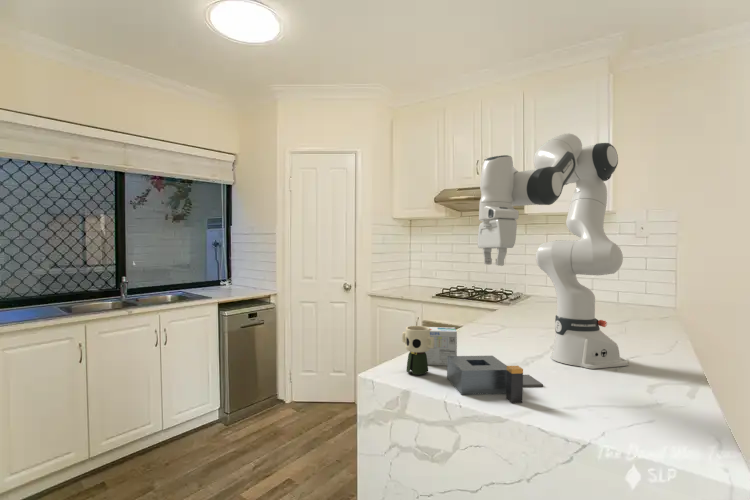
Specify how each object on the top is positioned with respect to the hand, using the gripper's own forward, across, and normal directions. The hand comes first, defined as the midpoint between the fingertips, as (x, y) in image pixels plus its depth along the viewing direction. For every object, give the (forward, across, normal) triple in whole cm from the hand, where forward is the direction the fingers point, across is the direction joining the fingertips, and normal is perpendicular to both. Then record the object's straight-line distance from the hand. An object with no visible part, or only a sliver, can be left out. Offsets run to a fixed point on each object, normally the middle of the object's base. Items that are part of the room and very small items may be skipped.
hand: (493, 265), depth 112 cm
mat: (+31, +1, +9) cm, 33 cm away
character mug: (+32, -7, -19) cm, 38 cm away
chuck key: (+32, +14, +2) cm, 35 cm away
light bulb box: (+32, -18, -10) cm, 38 cm away
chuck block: (+32, +1, -4) cm, 32 cm away
